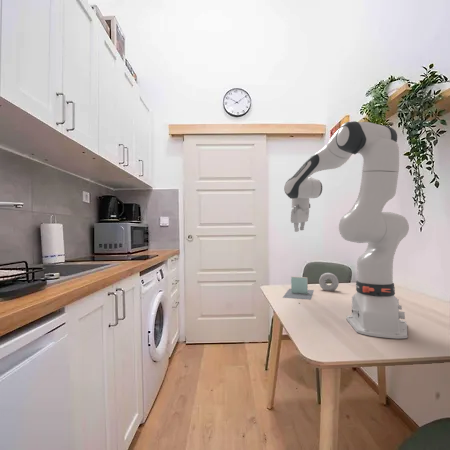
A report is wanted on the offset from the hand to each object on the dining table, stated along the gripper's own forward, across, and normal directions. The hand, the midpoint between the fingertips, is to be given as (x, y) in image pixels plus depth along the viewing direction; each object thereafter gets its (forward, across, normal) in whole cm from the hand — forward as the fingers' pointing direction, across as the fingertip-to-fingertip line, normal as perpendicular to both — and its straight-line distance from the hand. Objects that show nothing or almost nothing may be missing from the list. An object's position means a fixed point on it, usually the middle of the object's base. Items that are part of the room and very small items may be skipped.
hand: (299, 230), depth 149 cm
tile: (+31, -6, -3) cm, 32 cm away
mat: (+32, -8, -4) cm, 33 cm away
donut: (+32, +7, -15) cm, 36 cm away
